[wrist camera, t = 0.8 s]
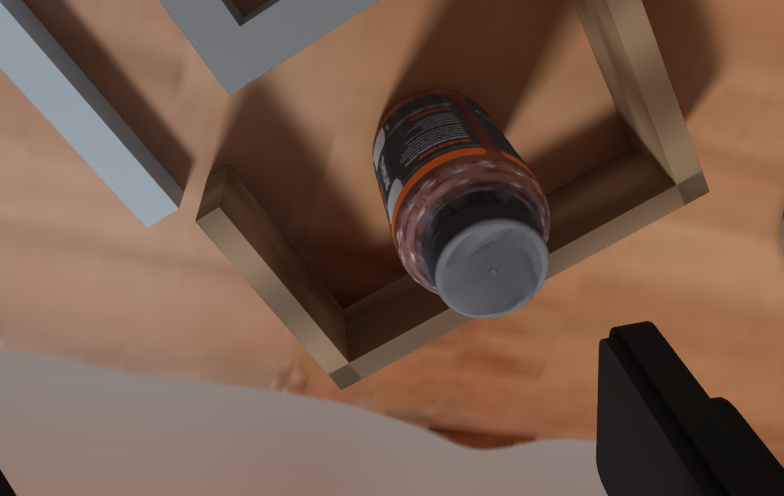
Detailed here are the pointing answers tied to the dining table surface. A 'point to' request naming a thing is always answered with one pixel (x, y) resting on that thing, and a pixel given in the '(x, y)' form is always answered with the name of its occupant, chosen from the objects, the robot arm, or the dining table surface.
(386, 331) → the cubby
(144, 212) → the crook tool
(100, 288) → the dining table surface
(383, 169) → the supplement bottle
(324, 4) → the hole board
